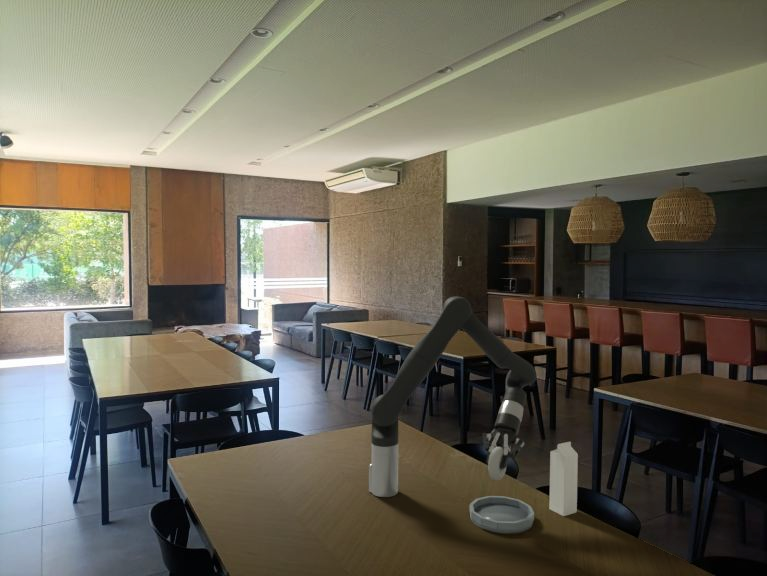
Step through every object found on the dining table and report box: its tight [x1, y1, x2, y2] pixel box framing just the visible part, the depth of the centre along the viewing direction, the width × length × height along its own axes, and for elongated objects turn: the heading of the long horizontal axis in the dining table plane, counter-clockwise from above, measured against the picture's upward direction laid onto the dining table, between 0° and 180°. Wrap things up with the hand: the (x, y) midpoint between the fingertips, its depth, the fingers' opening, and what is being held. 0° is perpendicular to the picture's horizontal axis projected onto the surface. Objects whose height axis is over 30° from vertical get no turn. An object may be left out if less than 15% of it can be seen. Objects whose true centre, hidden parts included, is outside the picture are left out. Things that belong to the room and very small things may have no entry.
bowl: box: [469, 495, 535, 535], centre depth 172 cm, size 19×19×3 cm
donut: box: [487, 447, 508, 481], centre depth 172 cm, size 10×4×10 cm, turn 147°
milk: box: [548, 441, 579, 517], centre depth 178 cm, size 6×6×22 cm
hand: (495, 466), depth 170 cm, fingers closed on donut, 3 cm apart
